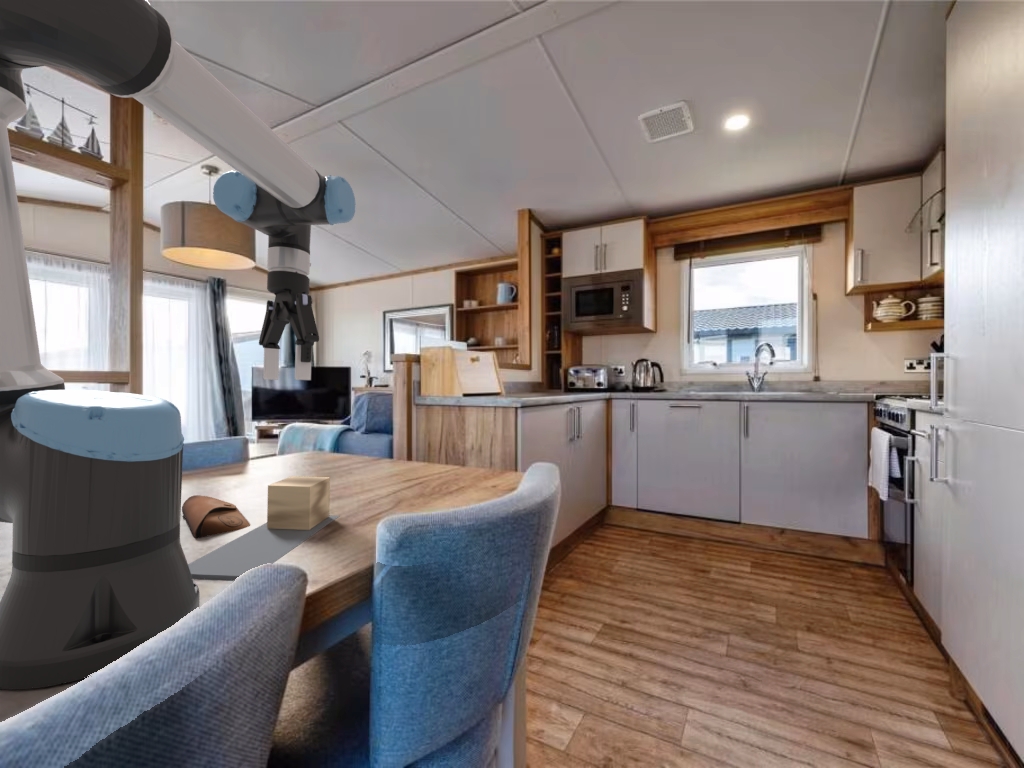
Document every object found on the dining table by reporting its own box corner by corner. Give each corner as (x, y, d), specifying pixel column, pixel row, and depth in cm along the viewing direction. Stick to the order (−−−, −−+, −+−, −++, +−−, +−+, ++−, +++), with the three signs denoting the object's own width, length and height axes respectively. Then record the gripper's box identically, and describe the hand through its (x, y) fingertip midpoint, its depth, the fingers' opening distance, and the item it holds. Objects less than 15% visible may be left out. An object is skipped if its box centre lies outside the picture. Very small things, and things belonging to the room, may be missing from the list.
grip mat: (253, 581, 53) (253, 576, 53) (170, 578, 54) (170, 573, 54) (340, 518, 78) (340, 515, 78) (283, 517, 78) (283, 513, 78)
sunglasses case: (258, 530, 71) (235, 498, 69) (214, 561, 67) (187, 529, 65) (235, 505, 84) (214, 479, 82) (196, 531, 80) (174, 503, 78)
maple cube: (309, 530, 70) (310, 486, 70) (267, 529, 70) (267, 485, 70) (329, 517, 77) (330, 477, 77) (290, 515, 77) (291, 476, 77)
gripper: (340, 268, 82) (337, 380, 82) (279, 285, 97) (277, 380, 97) (300, 258, 76) (297, 379, 76) (242, 278, 91) (240, 378, 91)
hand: (286, 380), depth 86 cm, fingers open, 13 cm apart
